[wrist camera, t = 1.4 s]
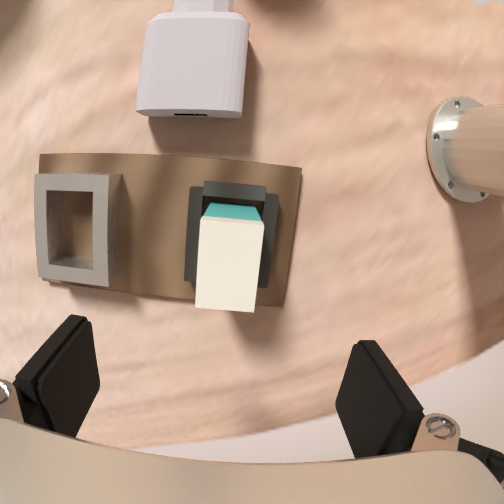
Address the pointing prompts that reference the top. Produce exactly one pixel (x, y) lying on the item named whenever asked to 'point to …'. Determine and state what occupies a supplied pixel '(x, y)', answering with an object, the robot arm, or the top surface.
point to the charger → (194, 61)
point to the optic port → (104, 227)
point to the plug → (229, 257)
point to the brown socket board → (179, 217)
